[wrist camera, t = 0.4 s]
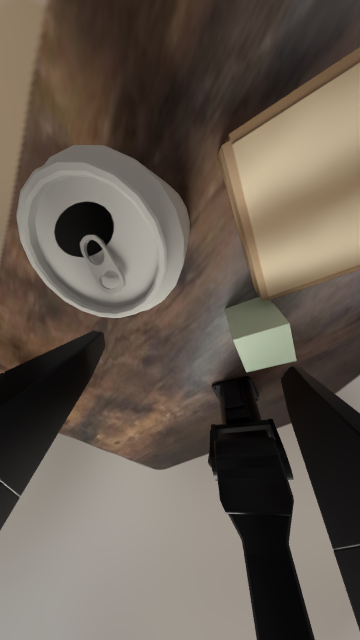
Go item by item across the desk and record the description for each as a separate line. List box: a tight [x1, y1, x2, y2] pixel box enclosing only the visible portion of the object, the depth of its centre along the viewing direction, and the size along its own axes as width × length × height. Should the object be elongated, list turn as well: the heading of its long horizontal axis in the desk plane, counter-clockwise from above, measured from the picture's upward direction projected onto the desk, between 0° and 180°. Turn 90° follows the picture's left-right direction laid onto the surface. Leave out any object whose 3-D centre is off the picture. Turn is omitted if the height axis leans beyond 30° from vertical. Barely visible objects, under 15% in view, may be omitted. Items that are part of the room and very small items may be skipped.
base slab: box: [217, 47, 360, 300], centre depth 14 cm, size 13×13×3 cm
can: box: [16, 145, 190, 318], centre depth 12 cm, size 8×8×12 cm
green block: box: [225, 297, 296, 372], centre depth 20 cm, size 5×5×6 cm
